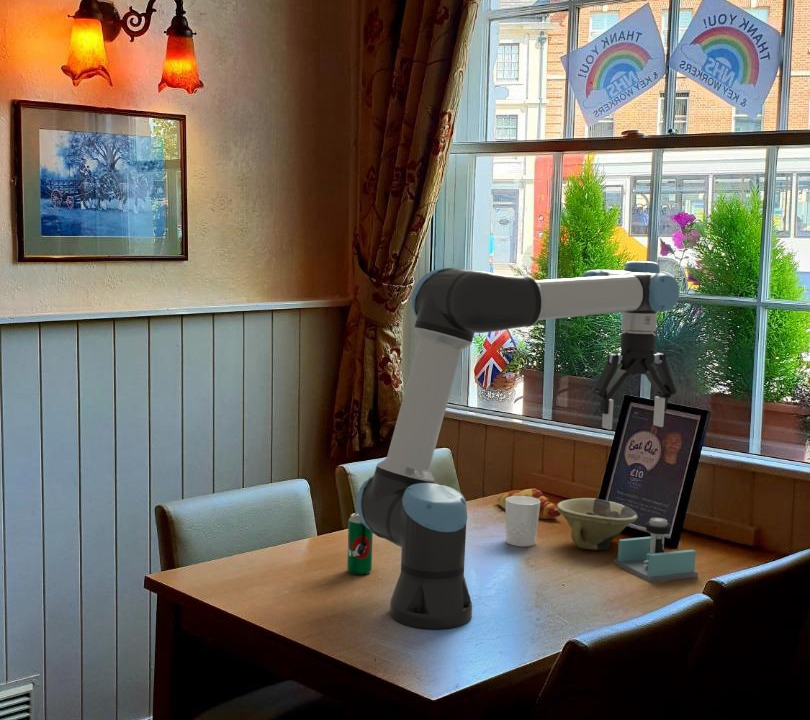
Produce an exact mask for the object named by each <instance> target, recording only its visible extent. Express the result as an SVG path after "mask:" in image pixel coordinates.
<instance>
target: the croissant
mask: <svg viewBox="0 0 810 720" xmlns="http://www.w3.org/2000/svg"><path fill="white" fill-rule="evenodd" d="M511 496H527V497H533V498H536V499H538V500H540V509H539V519H540V520H541V519H542V520H552V519H553V520H554V519H555V518H558V517H560V516H562V514H561V513H559V512H558V507H557V506H556V505H555V503H553V502H550V498H549V497H546V496H544V493H543V492H542V491H541V490H538V489H537V488H526V489H523V490H520V489H519V490H517V489H516V490H514V489H513V490H511V491H509V492H508V491H507V492H503V493H501V494H499V495H498V496H497V497H496V501H497V503H498V504H499V506H500V507H501V508H503V509H504V510H505V511H506V498H508V497H511Z"/></svg>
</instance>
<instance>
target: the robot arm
mask: <svg viewBox="0 0 810 720" xmlns="http://www.w3.org/2000/svg"><path fill="white" fill-rule="evenodd" d="M679 296H680V286H679V283H678V282H677V279H676V278H674V277H673V276H672V275H670V274H665V273H662V272H660V265H659V264H658V263H657V262H654V261H639V260H638V261H636V260H632V261H631V260H629V261H626V262H625V265H624V268H623V270H621V269H620V270H615V269H599V268H598V269H590V270H587V271H585V272H584V273H583V274H581V277H571V278H567V277H566V278H554V279H553V278H552V279H539V280H536V279H534V278H533V277H532V276H529V275H506V274H500V273H494V272H488V271H481V270H470V269H464V268H463V269H461V268H453V267H444V268H437V269H433V270H431V271H429V272H426V273H425V274H424V275H422V277H421V278H420V279H419V280H418V281H417V282H416V285H415V286H414V288H413V291H412V293H411V307H412V308H411V309H413V314H414V316H415V317H416V320H415V323H414V326H413V327H414V328H413V329H414V331H415V334H416V336H417V338H418V342H417V346H416V350H415V353H414V357H413V361H412V364H411V368H410V371H409V375H408V378H407V379H408V380H407V382H406V386H405V390H404V395H403V397H402V401H401V403H400V409H399V411H398V416H397V419H396V423H395V426H394V430H393V434H392V437H391V441H390V445H389V449H388V452H387V456H386V457H385V459H384V460H381V461H380V462H378V463H377V464H376V467H375V471H374V474H373V475H371V476H369V478H368V479H367V480H365V481H364V482H363V483H362V484H361V486H360V488H359V491H358V493H357V497H356V504H355V505H356V513H358V516H359V518H360V520H361V522H362V523H363V524H364V526H365V527H366V528H368V529H369V530H370V531H371V532H372V533H373V534H374V535H375V536H376V537H378V538H381V539H385V540H386V541H389V542H390V543H392V544H394V545H396V546H398V547H400V548H401V555H400V556H401V557H400V558H401V559H400V561H401V562H400V574H399V577H398V580H397V582H396V585H395V588H394V590H393V593H392V595H391V599H390V602H389V614H390V616H391V618H392V619H394V620H395V621H397V622H398V623H400V624H403V625H406V626H410V627H413V628H419V629H428V630H429V629H430V630H431V629H432V630H437V629H438V630H439V629H441V630H442V629H451V628H452V629H453V628H456V627H460V626H463V625H465V624H467V623H468V622H470V621H471V619H472V616H473V604H472V599H471V596H470V593H469V589H468V585H467V582H466V578H465V557H466V556H465V555H466V540H467V539H466V538H467V537H466V536H467V523H468V511H467V510H468V509H467V501H466V498H465V497H464V495H463V494H462V492H460V491H459V490H456V489H455V488H453V487H452V486H451V487H450V486H448V485H440V484H439V483H435V478H434V476H433V474H432V472H431V470H430V468H431V465H432V461H433V458H434V454H435V450H436V447H437V443H438V439H439V435H440V431H441V427H442V424H443V420H444V416H445V413H446V410H447V405H448V402H449V398H450V394H451V390H452V387H453V383H454V380H455V376H456V372H457V369H458V365H459V361H460V357H461V354H462V352H463V350H465V349H466V348H469V346H471V345H472V343H473V340H474V337H475V333H476V334H477V333H478V334H481V333H491V332H493V333H494V332H497V331H498V332H499V331H504V330H510V329H511V330H512V329H517V328H525V327H526V328H528V327H532V326H534V325H535V324H537V322H538V321H543V320H555V319H563V318H565V319H566V318H574V317H584V316H596V315H602V314H603V315H605V314H617V313H621V325H620V329H621V330H622V332H621V333H620V345H619V346H620V349H621V352H620V354H615V353H609V354H608V355H607V360H606V364H605V365H604V368H603V371H602V372H601V375H600V377H599V379H598V381H597V383H596V385H595V387H594V390H593V391H592V394H593V395H594V396H595V397H598V398H600V406H599V407H600V410H599V411H600V413H601V414H602V421H601V422H602V424H601V428H603V429H606V430H608V431H609V430H613V418H614V417H613V416H614V414H613V413H614V399H611V398H612V396H614V394H615V393H616V392H617V390H618V389H619V388H620V386H621V385H622V384H623V382H624V381H625V380H626V378H627V377H630V375H638V374H639V375H644V376H645V377H646V378H647V380H648V381H649V383H650V385H652V388H653V389H654V390H655V392H656V393H657V395H658V396H654V406H653V424H652V425H653V426H655V427H660V428H663V427H664V419H665V412H667V410H668V400H669V399H671V397H672V395H675V394H676V392H677V391H676V387H675V385H674V382H673V379H672V376H671V373H670V371H669V367H668V365H667V355H666V353H661V352H656V353H654V351H655V350H656V345H657V343H656V341H657V335H656V333H654V332H656V331H657V325H658V323H657V322H658V312H668V311H669V310H670V311H671V310H672V309H673V308H674V307H675V306H676V305H677V302H678V301H679ZM653 363H654V364H655V367H656V370H657V371H656V370H655V369H654V367H653ZM619 364H620V366H619V367H618V365H619ZM615 372H616V373H615ZM657 372H658V375H659V376H658V375H657Z"/></svg>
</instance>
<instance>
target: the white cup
mask: <svg viewBox="0 0 810 720" xmlns="http://www.w3.org/2000/svg"><path fill="white" fill-rule="evenodd" d="M539 509H540V500H538V499H536V498H533V497H527V496H511V497H508V498H506V510H505V531H506V532H505V541H506V543H507V544H509V545H512V546H514V547H515V546H516V547H523V548H524V547H531V546H535V544H536V541H537V534H538V533H537V532H538V529H539V528H538V525H539V521H540V520H539V519H540V518H539Z"/></svg>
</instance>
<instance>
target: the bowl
mask: <svg viewBox="0 0 810 720" xmlns="http://www.w3.org/2000/svg"><path fill="white" fill-rule="evenodd" d="M556 507H557V508H558V512H559V513H561V516H562V517H564V519H565V520H566V522H567V523H568V525H569V527H570V528H571V532H570V533H571V534H570V535H571V537H570V538H571V540H572V542H573V544H574V545H575V546H576V547H578V548H579V549H583V550H585V549H586V550H590V551H597V552H598V551H599V552H600V551H601V552H602V551H607V550H608V549H609V548H610V547H611V542H612V541H614V540H615V538H617V537H618V536H619V535H620V534H621V533H622V532H623V531H624V529H625V528H626V527H628V525H630V524H633V523H634V522H635V523H636V520H637V519H638V516H639V515H638V514H637V512H636V511H635V510H633V509H632V508H630V507H628V506H626V505H623V504H621V503H618V502H615V501H610V500H605V499H600V498H594V497H593V498H592V497H581V498H580V497H579V498H572V499H571V498H570V499H566V500H562V501H560V502H558V503H557V506H556Z"/></svg>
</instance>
